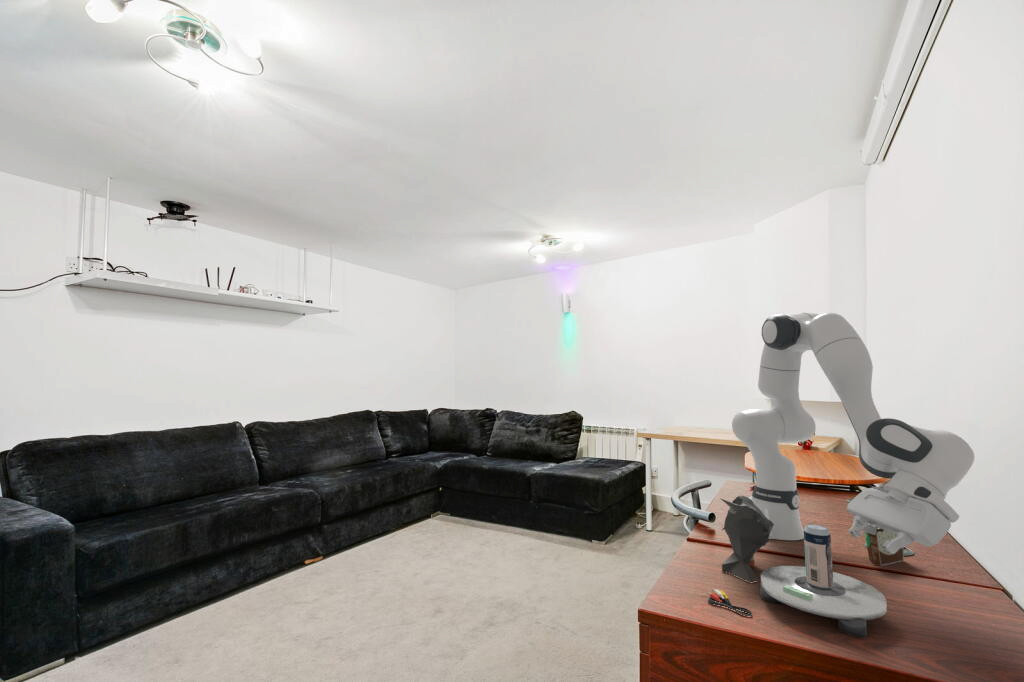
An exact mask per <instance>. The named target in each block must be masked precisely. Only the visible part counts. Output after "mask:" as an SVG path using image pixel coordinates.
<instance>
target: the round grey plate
mask: <svg viewBox="0 0 1024 682" xmlns="http://www.w3.org/2000/svg"><path fill="white" fill-rule="evenodd" d="M759 585H760V587H759V588H760V589H759V591H760V592H759V593H760V598H761V599H762V600H763V601H765V602H767V603H771V604H776V603H779V604H785V605H787V606H790V607H791V608H795V609H797V610H800V611H803V612H806V613H810V614H813V615H817V616H821V617H826V618H831V619H837V621H838V630H839V629H840V630H841V631H842V632H841V631H840V630H839V631H840V632H841V633H843V632H844V633H843V634H845V633H846V634H845V635H847V634H849V635H848V636H850V635H852V636H851V637H853V636H856V637H855V638H859V637H864V638H866V637H867V636H868V632H867V631H868V629H867V621H868V620H875V619H878V618H881V617H883V616H884V615H885V614H886V613H887V610H888V607H887V606H888V605H887V599H886V597H885V595H884V594H883V593H882V592H881V591H879V590H878V589H877V588H875V587H874V586H872V585H870V584H868V583H866V582H864V581H862V580H860V579H857V578H854V577H852V576H849V575H845V574H843V573H839V572H835V571H833V587H832V588H829V589H821V588H817V587H814V586H812V585H811V584H809V583H808V582H807V581H806V566H802V565H779V566H778V565H777V566H773V567H768V568H766V569H764V570H763V571H762V572H761V573H760V581H759Z"/></svg>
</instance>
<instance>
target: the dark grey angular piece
mask: <svg viewBox="0 0 1024 682" xmlns="http://www.w3.org/2000/svg"><path fill="white" fill-rule="evenodd" d="M719 500H721V501H722V502H724V504H726V505H727V506H728V507H729V508H728V509H727V510H728V511H727V513H726V516H725V520H724V525H723V526H724V527H723V528H722V529H721V530H720V531H723V530H724V531H725V533H726V535H727V537H728V539H729V543H730V545H731V547H732V551H733V553H731V554H730V556H728V557H727V559H726V560H725V561H723V562H722V563H721V571H722V572H723V571H724V573H725V572H727V573H730V574H732V575H735V576H738V577H740V578H742V579H744V580H747V581H749V582H754V581H759V579H758V578H757V575H756V574H755V573H754V570H753V569H752V567H750V566H754V565H756V563H755V562H756V561H755V554H756V553H757V552H758V551H759V550H760V549H762V547H765V546H766V545H767V543H768V542H769V539H768V538H769V535H770V533H771V530H772V527H773V526H774V524H773V523H772V521H770V520H769V519H768V518H767V517H766V516H765V515H764V514H763V513H762V511H761V510H760V509H759V508H758V507H757V506H756V505H755V504H754V503H753V501H752V500H751V499H749V497H747V496H745V495H738V496H736V498H734V500H732V501H729V500H726V499H723V498H719ZM754 567H755V566H754ZM727 573H726V574H727ZM730 574H729V575H730ZM732 575H731V576H732Z"/></svg>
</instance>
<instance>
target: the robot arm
mask: <svg viewBox="0 0 1024 682" xmlns="http://www.w3.org/2000/svg"><path fill="white" fill-rule="evenodd" d="M761 338H762V340H763V342H764V345H763V348H762V353H761V356H760V357H761V358H760V364H759V370H758V371H759V373H758V382H757V387H758V390H759V392H760V393H761V394H763V395H764V396H765V397H767V398H769V399H770V400H769V401H770V406H771V407H770V408H749V409H746V410H745V409H744V410H740V411H738V412H737V413H735V415H734V416H733V419H732V421H731V428H732V432H733V433H734V435H735V437H736V438H737V440H739V441H740V442H741V443H743V444H744V445H745V446H746V447H747V449H748V450H749V453H750V454H751V456H752V459H753V461H754V469H755V479H756V484H755V485H753V486H751V487H749V489H748V491H749V492H752V493H751V496H749V497H748V498H749V499H751V500H752V501H753V503H754V504H755V505H756V506H757V507H758V508H759V509H760V510H761V511H762V513H763V514H764V515H765V516H766V517H767V518H768V519H769V520H770V521H772V523H773V524H774V526H773V527H772V530H771V533H770V535H769V538H768V540H772V539H773V540H781V541H800V540H804V529H803V527H802V526H803V525H802V521H801V517H800V516H801V515H800V512H799V511H800V510H799V508H800V498H799V489H798V488H797V474H796V473H797V472H796V465H795V463H794V462H793V461H792V460H791V458H788V457H787V456H786V455H783V454H782V452H781V451H780V449H779V444H797V443H800V442H801V443H802V442H806V441H809V440H811V439H812V438H813V437H814V435H815V432H816V427H817V426H816V422H815V420H814V418H813V416H812V415H811V413H809V412H808V411H807V410H806V408H804V407H803V404H802V402H801V399H800V395H799V394H800V393H799V387H800V383H799V382H800V376H801V375H800V374H801V365H802V363H801V362H802V356H803V354H804V353H805V352H806V351H812V352H813V355H814V357H815V358H816V361H817V363H818V364H819V366H820V368H821V370H822V372H823V373H824V375H825V376H826V378H827V379H828V381H829V382H830V384H831V386H832V388H833V389H834V391H835V392H836V394H837V396H838V398H839V399H840V402H841V404H842V406H843V408H844V410H845V412H846V414H847V416H848V418H849V421H850V423H851V425H852V427H853V429H854V431H855V434H856V437H857V440H858V446H859V447H858V458H859V461H860V463H861V465H862V467H863V468H864V469H865V470H866V471H867V472H869V473H870V474H871V475H873V476H877V477H878V478H879V477H880V478H883V479H888V481H887V482H886V484H885V485H884V486H880V485H875V486H873V487H869V488H865V489H863V490H861V492H859V493H858V494H857V495H856V496H855V497H854V498H853V499H852V500H850V502H848V504H847V506H846V510H847V512H848V513H850V514H851V515H852V517H853V520H852V526H851V527H850V528H849V529H848V533H849V534H850V535H851V537H854V538H856V539H859V538H861V536H863V535H864V532H863V530H862V527H863V526H866V525H867V524H871V525H873V526H876V527H879V528H881V529H884V530H886V531H889V532H891V533H894V534H896V535H898V537H896V538H894V539H893V540H891V541H889V540H886V541H885V543H884V544H883V545H882V547H883V548H884V549H885V550H886V551H888V552H890V553H892V554H895V553H896V552H897V551H898V549H899V548H903V547H904V548H905V547H907V546H911V544H912V543H913V542H915V543H918V544H920V545H922V546H925V547H932V546H936V545H937V544H938V543H939V542H940V541H942V539H943V538H944V537H945V536H946V534H947V533H948V532H949V530H950V529H951V526H952V523H955V522H957V521H958V520H959V518H960V514H958V512H957V511H956V510H955V509H954V508H953V507H952V506H951V505H950V504H949V503H948V502H947V501H946V497H947V495H948V492H950V490H951V489H953V488H955V487H956V486H958V485H959V483H961V481H962V480H963V479H964V478H965V477H966V475H967V474H968V473H969V471H970V469H971V467H972V466H973V463H974V461H975V453H974V450H973V449H972V446H970V445H969V443H968V442H967V441H966V440H965V439H963V438H962V437H960V436H958V435H957V434H955V433H953V432H950V431H948V430H943V429H940V430H933V429H932V430H931V429H926V428H921V427H917V426H914V425H911V424H908V423H907V422H904V421H902V420H899V419H897V418H882V417H881V416H880V413H879V411H878V409H877V407H876V405H875V402H874V399H873V394H872V380H873V379H872V378H873V369H874V368H873V366H874V365H873V362H872V359H871V354H870V352H869V351H868V348H867V346H866V344H865V343H864V341H863V340H862V338H861V336H860V335H859V334H858V333H857V330H855V328H854V327H853V326H852V325H851V324H850V322H849V321H848V320H847V319H846V318H844V317H843V316H842V315H841V314H839V313H836V312H825V313H811V312H801V313H788V314H787V313H786V314H785V313H779V314H778V313H776V314H773V315H771V316H768V317H767V318H766V319H765V320H764V322H763V324H762V327H761Z"/></svg>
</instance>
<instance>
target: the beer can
mask: <svg viewBox="0 0 1024 682" xmlns="http://www.w3.org/2000/svg"><path fill="white" fill-rule="evenodd" d="M803 531H804V539H803V541H804V542H803V543H804V560H805V564H804V565H805V567H806V581H807V582H808V583H809V584H811V585H812V586H814V587H817V588H821V589H829V588H832V587H833V572H834V571H833V557H832V556H833V555H832V554H833V553H832V552H833V551H832V540H831V539H832V538H831V532H830V530H829V528H828V527H827V526H824V525H820V524H815V523H808V524H806V525H805V527H804V529H803Z"/></svg>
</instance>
